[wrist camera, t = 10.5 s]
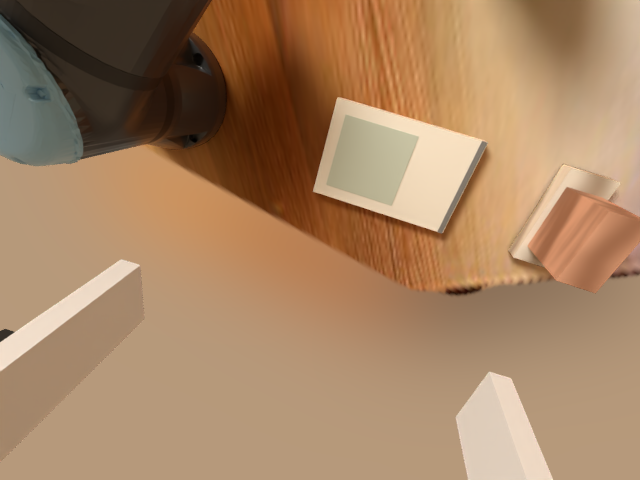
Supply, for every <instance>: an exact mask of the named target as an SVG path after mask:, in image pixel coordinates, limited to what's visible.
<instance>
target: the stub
mask: <svg viewBox="0 0 640 480" xmlns="http://www.w3.org/2000/svg"><path fill="white" fill-rule="evenodd" d="M620 184H621V183H620V182H618V181H616V180H613V179H611V178H608V177H604V176H601V175H598V174H594V173H591V172H588V171H584V170H581V169H578V168H574V167H571V166H568V165H564V164H563V165H562V167H561V168H560V170H559V171H558V173H557V174H556V176H555V178H554V179H553V181H552V182H551V184H550V185H549V187H548V189H547V190H546V192H545V193H544V195H543V196H542V198H541V199H540V201H539V203H538V204H537V206H536V207H535V209H534V210H533V212H532V214H531V215H530V217H529V218H528V220H527V221H526V223H525V225H524V226H523V228H522V229H521V231H520V232H519V234H518V236H517V237H516V239H515V240H514V242H513V243H512V245H511V247H510V248H509V250H508V251H509V252H510V254H511V255H512V256H513V257H514V258H517V259H520V260H523V261H526V262H529V263H532V264H535V265H538V266H541V267H544V268H546V269H547V270H548V271H549V273H550V274H551V275H552V276H553V277H554V279H555V280H556V281H559V282H562V283H565V284H568V285H572V286H574V287H577V288H581V289H584V290H587V291H590V292H593V293H596V292H597V291H598V290H599V289H600V287H601V286H602V285H603V284H604V283H605V282H606V281H607V279H608V278H609V277H610V276H611V275H612V274H613V272H614V271H615V270H616V269H617V268H618V267H619V265H620V264H621V263H622V262H623V261H624V260H625V258H626V257H627V256H628V255H629V254H630V253H631V251H632V250H633V249H634V248H635V247H636V246H637V245H638V243H639V242H640V217H638V216H636V215H634V214H633V213H631V212H629V211H627V210H625V209H623V208H621V207H619V206H617V205H616V204H614V203H612V202H610V201H608V200H609V199H610V197H611V196H612V195H613V193H614V192H615V191H616V189H617V188H618V187H619V185H620Z"/></svg>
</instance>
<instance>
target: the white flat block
mask: <svg viewBox="0 0 640 480" xmlns="http://www.w3.org/2000/svg"><path fill="white" fill-rule="evenodd" d="M487 144H488V142H486V141H484V140H482V139H478V138H475V137H472V136H468V135H465V134H462V133H458V132H455V131H452V130H448V129H445V128H442V127H438V126H435V125H432V124H428V123H425V122H422V121H418V120H415V119H412V118H408V117H405V116H402V115H398V114H395V113H392V112H388V111H385V110H382V109H378V108H375V107H372V106H368V105H365V104H362V103H358V102H355V101H352V100H348V99H345V98H341V97H337V100H336V104H335V108H334V112H333V116H332V120H331V124H330V128H329V131H328V135H327V139H326V143H325V147H324V151H323V155H322V158H321V162H320V166H319V170H318V174H317V178H316V182H315V185H314V189H313V192H316V193H319V194H322V195H325V196H328V197H331V198H335V199H338V200H341V201H344V202H347V203H350V204H353V205H356V206H359V207H362V208H365V209H368V210H372V211H375V212H378V213H381V214H384V215H387V216H390V217H393V218H396V219H399V220H402V221H405V222H408V223H412V224H415V225H418V226H421V227H424V228H427V229H430V230H433V231H436V232H438V233H443V231H444V229H445V227H446V225H447V223H448V221H449V219H450V218H451V216H452V214H453V212H454V210H455V208H456V206H457V204H458V202H459V200H460V198H461V196H462V194H463V192H464V190H465V188H466V186H467V184H468V182H469V180H470V178H471V176H472V174H473V172H474V170H475V168H476V166H477V164H478V162H479V160H480V158H481V156H482V154H483V152H484V150H485V148H486V146H487Z"/></svg>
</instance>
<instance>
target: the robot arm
mask: <svg viewBox="0 0 640 480" xmlns="http://www.w3.org/2000/svg"><path fill="white" fill-rule="evenodd" d="M211 1H212V0H0V155H1V156H3V157H5V158H7V159H10V160H12V161H15V162H18V163H20V164H28V165H33V166H46V165H55V164H63V163H66V164H71V163H75V162H77V160H80V159H84V158H89V157H92V156H97V155H101V154H106V153H109V152H114V151H118V150H122V149H127V148H131V147H136V146H140V145H144V144H150V145H154V146H158V147H163V148H167V149H174V150H182V149H188V148H192V147H196V146H199V145H201V144H203V143H205V142H207V141H208V140H210V139H211V138H212V137H213V136H214V135H215V134H216V132H217V131H218V129H219V128H220V126H221V124H222V121H223V119H224V115H225V111H226V87H225V82H224V78H223V74H222V71H221V69H220V66H219V64H218V62H217V60H216V58H215V57H214V55H213V53H212V52H211V50H210V49H209V48H208V46H207V45H206V44H205V43H204V42H203V41H202V40H201V39H200V38H199V37H198V36H197V35H195V34H194V33H193V30H194V28H195V27H196V25H197V23H198V22H199V20H200V19H201V17H202V15H203V14H204V12H205V11H206V9H207V7H208V6H209V4H210V2H211ZM143 320H144V308H143V295H142V281H141V269H140V265H138V264H135V263H131V262H128V261H125V260H120V261H118V262H117V263H116V264H114V265H112V266H111V267H110V268H108V269H107V270H105V271H104V272H102V273H101V274H99V275H98V276H96V277H95V278H93V279H92V280H91V281H89V282H88V283H86V284H85V285H83V286H82V287H80V288H79V289H78V290H76V291H74V292H73V293H72V294H70V295H69V296H67V297H66V298H64V299H63V300H61V301H60V302H58V303H57V304H55V305H54V306H53V307H51V308H50V309H48V310H47V311H45V312H44V313H43V314H41V315H39V316H38V317H37V318H35V319H34V320H32V321H31V322H29V323H28V324H26V325H25V326H24V327H22V328H20V329H19V330H17V331H16V332H13V331H10V330H7V329H4V330H2V331H0V462H1V461H2V460H3V459H4V458H5V457H6V456H7V455H8V454H9V453H10V452H11V451H12V450H13V449H14V448H15V447H16V446H17V445H18V444H19V443H20V442H21V441H22V440H23V439H24V438H25V437H26V436H27V435H28V434H29V433H30V432H31V431H32V430H33V429H34V428H35V427H36V426H37V425H38V424H39V423H40V422H41V421H42V420H43V419H44V418H45V417H46V416H47V415H48V414H49V413H50V412H51V411H52V410H53V409H54V408H55V407H56V406H57V405H58V404H59V403H60V402H61V401H62V400H63V399H64V398H65V397H66V396H67V395H68V394H69V393H70V392H71V391H72V390H73V389H74V388H75V387H76V386H77V385H78V384H79V383H80V382H81V381H82V380H83V379H84V378H85V377H86V376H88V374H90V372H92V371H93V370H94V369H95V367H97V366H98V364H100V362H102V361H103V360H104V359H105V358H106V357H107V356H108V355H109V354H110V352H112V351H113V350H114V348H116V347H117V346H118V345H119V344H120V343H121V342H122V341H123V340H124V339H125V338H126V337H127V335H129V334H130V333H131V332H132V331H133V330H134V329H135V328H136V327H137V326H138V325H139V324H140V323H141V322H142V321H143ZM456 422H457V426H458V432H459V436H460V442H461V446H462V451H463V456H464V461H465V466H466V471H467V476H468V480H553V478H552V476H551V474H550V471H549V469H548V467H547V464H546V462H545V459H544V457H543V454H542V452H541V449H540V447H539V445H538V442H537V440H536V437H535V435H534V432H533V430H532V428H531V425H530V423H529V421H528V418H527V416H526V413H525V411H524V408H523V406H522V403H521V401H520V399H519V396H518V394H517V391H516V389H515V387H514V384H513V382H512V379H511V378H508V377H505V376H502V375H498V374H495V373H492V372H489V373H488V374H487V375H486V377H485V378H484V380H483V381H482V382H481V383H480V385H479V386H478V387H477V389H476V390H475V392H474V393H473V394H472V396H471V397H470V398H469V400H468V401H467V402H466V404H465V405H464V406H463V408H462V409H461V411H460V412H459V413H458V415H457V416H456Z"/></svg>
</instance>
